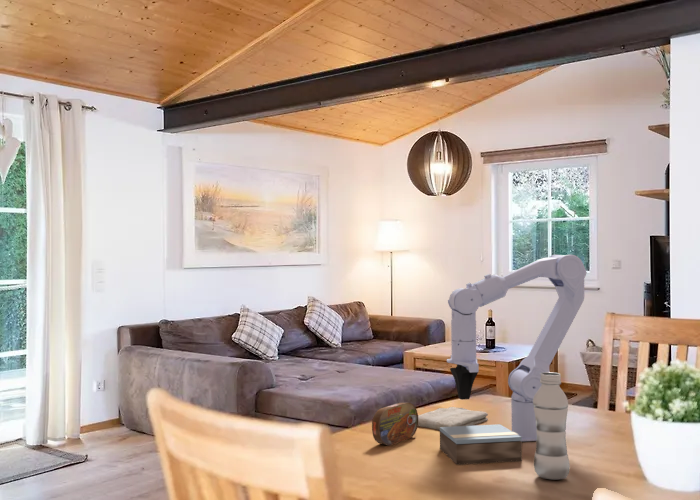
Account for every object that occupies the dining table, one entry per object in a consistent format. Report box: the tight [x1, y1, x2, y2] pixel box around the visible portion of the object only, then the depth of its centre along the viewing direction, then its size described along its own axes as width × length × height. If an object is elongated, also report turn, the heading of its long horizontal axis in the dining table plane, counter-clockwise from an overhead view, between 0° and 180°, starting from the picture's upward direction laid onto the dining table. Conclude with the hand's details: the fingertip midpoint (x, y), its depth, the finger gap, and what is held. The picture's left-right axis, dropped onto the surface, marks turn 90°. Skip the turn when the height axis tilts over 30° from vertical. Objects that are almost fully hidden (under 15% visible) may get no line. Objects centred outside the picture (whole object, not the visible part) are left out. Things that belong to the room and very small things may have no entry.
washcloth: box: [418, 406, 489, 431], centre depth 186 cm, size 12×18×3 cm, turn 140°
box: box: [439, 430, 523, 466], centre depth 156 cm, size 14×12×4 cm
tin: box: [371, 402, 419, 446], centre depth 168 cm, size 15×3×8 cm, turn 139°
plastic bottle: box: [533, 371, 571, 481], centre depth 140 cm, size 6×7×20 cm
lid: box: [439, 423, 523, 444], centre depth 156 cm, size 14×12×1 cm
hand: (464, 398), depth 169 cm, fingers closed
